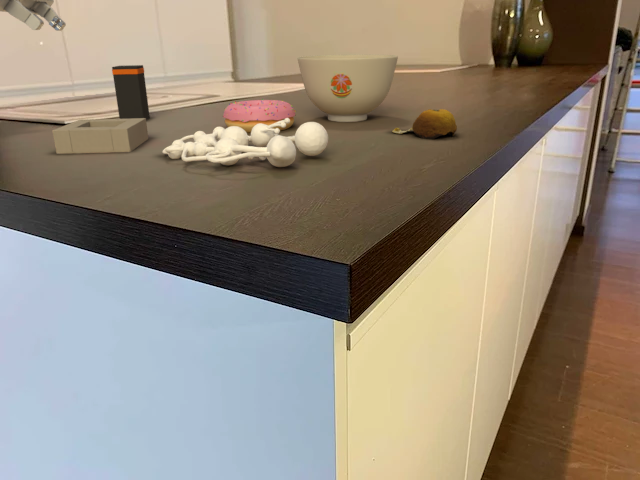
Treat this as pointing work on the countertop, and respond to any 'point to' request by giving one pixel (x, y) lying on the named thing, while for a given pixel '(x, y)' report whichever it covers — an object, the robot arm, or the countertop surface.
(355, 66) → the bowl
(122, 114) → the black orange-banded block
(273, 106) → the doughnut
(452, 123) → the fruit
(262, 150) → the tangled rod sculpture
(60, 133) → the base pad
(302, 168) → the countertop surface
